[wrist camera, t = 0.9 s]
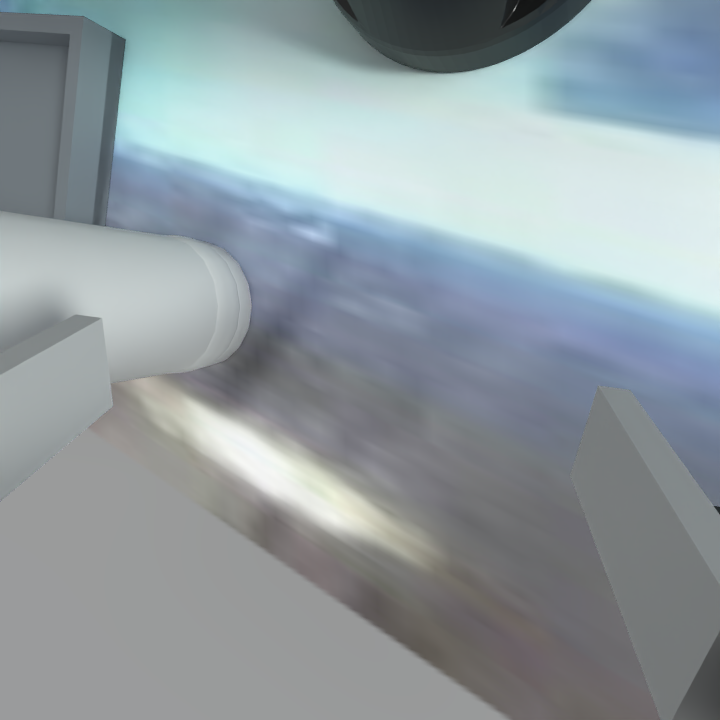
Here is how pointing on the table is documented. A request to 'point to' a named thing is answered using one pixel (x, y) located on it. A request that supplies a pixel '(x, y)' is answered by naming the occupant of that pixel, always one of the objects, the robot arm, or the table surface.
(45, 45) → the tray
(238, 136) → the table surface
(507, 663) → the table surface
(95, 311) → the bottle
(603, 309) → the table surface
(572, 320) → the table surface
